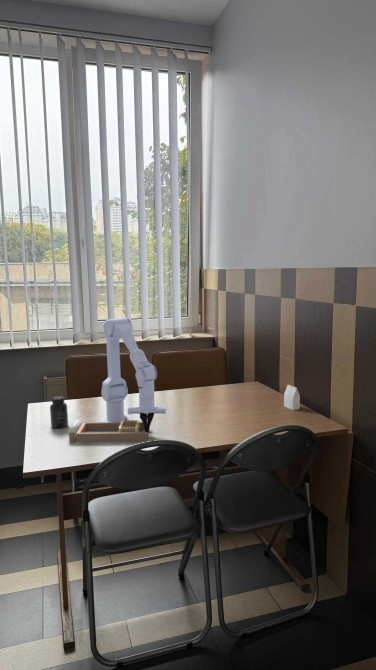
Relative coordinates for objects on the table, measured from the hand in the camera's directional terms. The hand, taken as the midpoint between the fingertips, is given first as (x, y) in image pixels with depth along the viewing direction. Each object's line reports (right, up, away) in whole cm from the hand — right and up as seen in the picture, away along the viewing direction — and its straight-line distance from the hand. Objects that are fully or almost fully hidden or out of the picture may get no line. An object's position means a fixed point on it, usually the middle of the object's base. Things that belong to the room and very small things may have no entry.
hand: (147, 431), depth 184 cm
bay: (-15, -2, 0) cm, 15 cm away
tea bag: (+63, +4, +35) cm, 72 cm away
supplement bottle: (-37, 0, +12) cm, 39 cm away
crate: (-7, -2, 0) cm, 7 cm away
